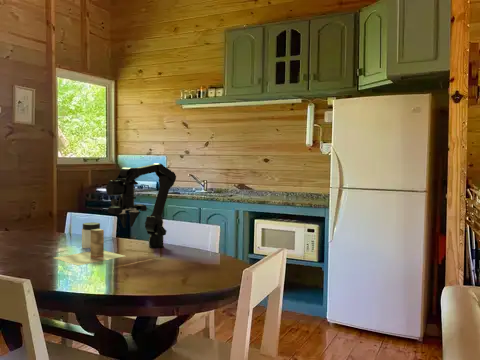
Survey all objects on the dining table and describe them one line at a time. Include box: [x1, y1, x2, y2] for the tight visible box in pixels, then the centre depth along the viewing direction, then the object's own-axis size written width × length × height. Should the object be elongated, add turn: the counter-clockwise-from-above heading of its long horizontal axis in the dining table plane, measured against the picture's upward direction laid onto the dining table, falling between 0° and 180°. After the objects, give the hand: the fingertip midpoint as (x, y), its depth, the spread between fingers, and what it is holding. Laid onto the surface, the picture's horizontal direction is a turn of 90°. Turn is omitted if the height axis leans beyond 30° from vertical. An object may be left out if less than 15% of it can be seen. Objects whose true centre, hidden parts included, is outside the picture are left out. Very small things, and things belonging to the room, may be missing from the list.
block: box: [90, 228, 105, 258], centre depth 199 cm, size 4×4×12 cm
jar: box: [81, 221, 101, 249], centre depth 221 cm, size 9×8×12 cm
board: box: [53, 250, 125, 266], centre depth 199 cm, size 24×20×1 cm
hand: (127, 227), depth 212 cm, fingers open, 4 cm apart
